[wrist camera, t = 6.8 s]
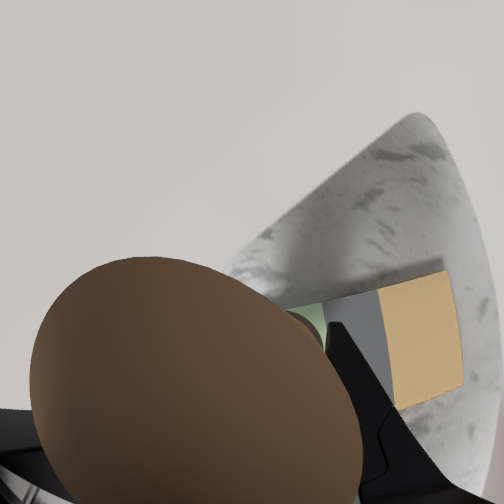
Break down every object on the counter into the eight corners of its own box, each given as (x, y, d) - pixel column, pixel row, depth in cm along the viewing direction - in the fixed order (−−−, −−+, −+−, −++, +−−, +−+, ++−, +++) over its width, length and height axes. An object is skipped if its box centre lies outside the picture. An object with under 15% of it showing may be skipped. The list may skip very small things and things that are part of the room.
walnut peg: (293, 294, 15) (220, 141, 3) (338, 363, 13) (456, 502, 1) (224, 338, 15) (-4, 339, 3) (266, 406, 13) (137, 579, 1)
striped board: (440, 272, 17) (447, 269, 16) (456, 381, 15) (463, 384, 14) (239, 318, 20) (234, 318, 19) (257, 432, 17) (254, 437, 16)
